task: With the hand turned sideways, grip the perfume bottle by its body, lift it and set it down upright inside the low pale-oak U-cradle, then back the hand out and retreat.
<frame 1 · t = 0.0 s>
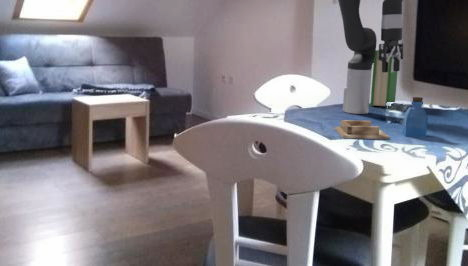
hand: (390, 71, 189), 17 cm above the table, tool pointing down, fingers open, 8 cm apart
u cradle: (360, 133, 160), on the table
perfume bottle: (414, 135, 160), on the table
hardback book: (382, 105, 224), on the table
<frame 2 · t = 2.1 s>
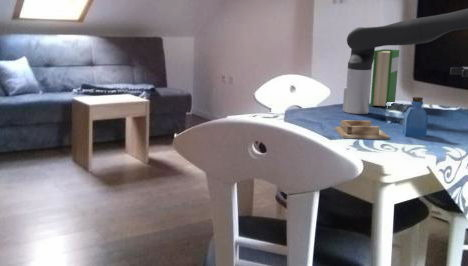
hand: (456, 72, 156), 20 cm above the table, tool horizontal, fingers open, 8 cm apart
nothing on the table moved.
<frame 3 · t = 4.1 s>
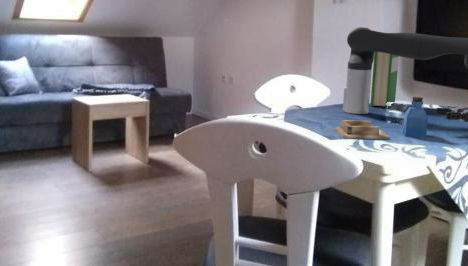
hand: (441, 113, 158), 7 cm above the table, tool horizontal, fingers open, 8 cm apart
nothing on the table moved.
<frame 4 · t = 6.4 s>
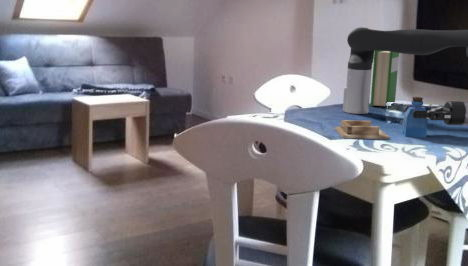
hand: (409, 112, 158), 7 cm above the table, tool horizontal, fingers closed on perfume bottle, 7 cm apart
perfume bottle: (414, 135, 160), on the table, touching gripper
everything else where it was.
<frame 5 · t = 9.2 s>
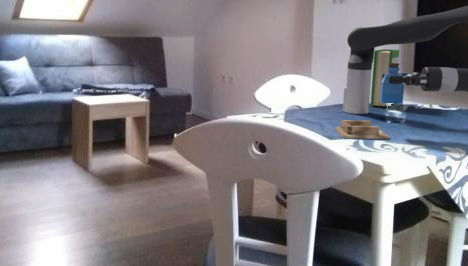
hand: (385, 78, 156), 18 cm above the table, tool horizontal, fingers closed on perfume bottle, 7 cm apart
perfume bottle: (390, 102, 158), point 10 cm above the table, touching gripper
everything else where it was.
when the fingers open (9 cm above the table, at t = 12.3 s): perfume bottle drops 1 cm, resting on u cradle.
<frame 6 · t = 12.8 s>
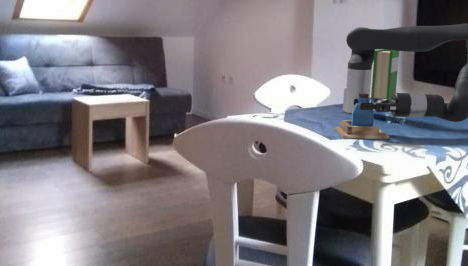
hand: (356, 104, 158), 10 cm above the table, tool horizontal, fingers open, 8 cm apart
perfume bottle: (361, 131, 160), point 1 cm above the table, touching u cradle
everything else where it was.
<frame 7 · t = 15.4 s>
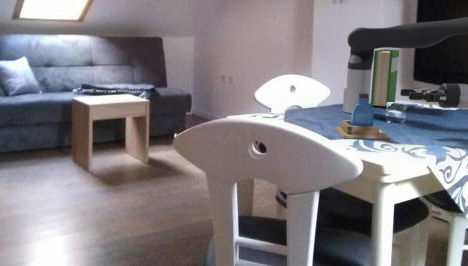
hand: (404, 94, 158), 13 cm above the table, tool horizontal, fingers open, 8 cm apart
nothing on the table moved.
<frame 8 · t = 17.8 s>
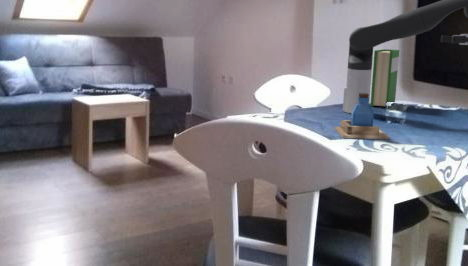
hand: (446, 39, 159), 30 cm above the table, tool horizontal, fingers open, 8 cm apart
nothing on the table moved.
at the end: perfume bottle 0.1 cm off-centre on the u cradle, point 0.6 cm above the u cradle's base; perfume bottle tilted 0°; the gripper is holding nothing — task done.
